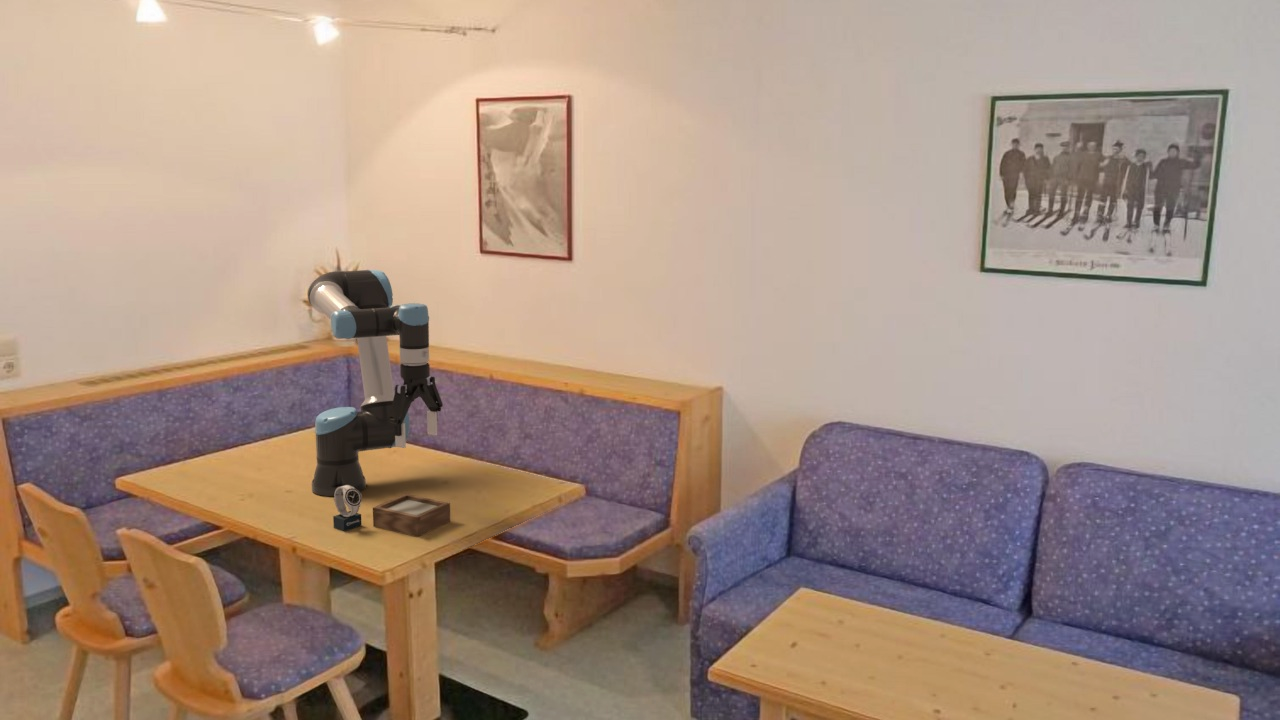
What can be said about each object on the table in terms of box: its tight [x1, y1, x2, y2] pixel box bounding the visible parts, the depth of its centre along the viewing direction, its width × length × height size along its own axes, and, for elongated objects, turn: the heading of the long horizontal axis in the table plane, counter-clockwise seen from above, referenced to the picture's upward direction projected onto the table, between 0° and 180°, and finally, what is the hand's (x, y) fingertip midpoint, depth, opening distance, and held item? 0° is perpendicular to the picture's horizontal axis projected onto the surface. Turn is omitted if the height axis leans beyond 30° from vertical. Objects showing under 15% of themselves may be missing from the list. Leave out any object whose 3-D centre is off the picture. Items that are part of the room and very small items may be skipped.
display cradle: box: [372, 493, 451, 538], centre depth 263 cm, size 15×13×5 cm
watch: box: [332, 485, 363, 532], centre depth 260 cm, size 6×8×11 cm
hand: (416, 440), depth 266 cm, fingers open, 13 cm apart
